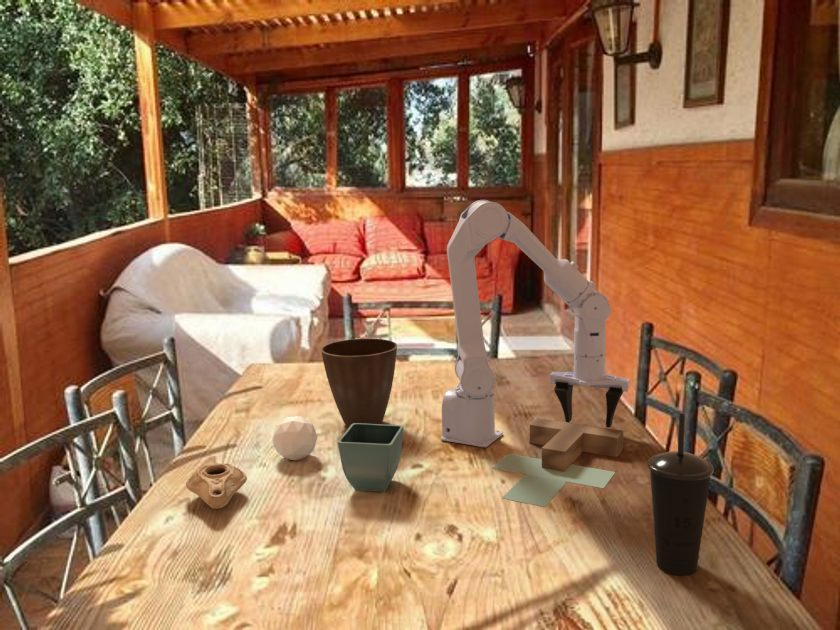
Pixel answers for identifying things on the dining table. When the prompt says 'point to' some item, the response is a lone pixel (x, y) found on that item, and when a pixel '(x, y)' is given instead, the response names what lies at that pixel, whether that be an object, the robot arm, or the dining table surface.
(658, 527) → the drinking cup
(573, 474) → the t mat
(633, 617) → the dining table surface
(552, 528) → the dining table surface
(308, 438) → the geometric ball
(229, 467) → the pottery oil lamp
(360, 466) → the flower pot
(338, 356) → the plant pot
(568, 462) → the t block
